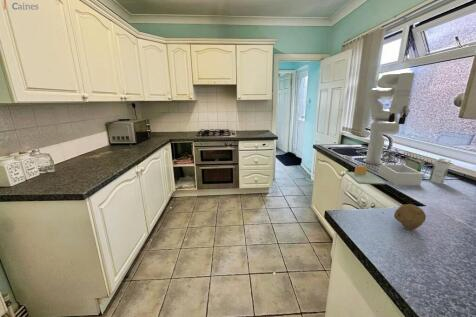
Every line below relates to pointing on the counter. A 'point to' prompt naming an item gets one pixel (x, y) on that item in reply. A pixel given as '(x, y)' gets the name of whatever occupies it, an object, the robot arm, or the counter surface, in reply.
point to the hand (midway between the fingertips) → (395, 123)
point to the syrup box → (439, 170)
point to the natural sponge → (410, 216)
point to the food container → (414, 163)
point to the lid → (364, 176)
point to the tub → (400, 174)
